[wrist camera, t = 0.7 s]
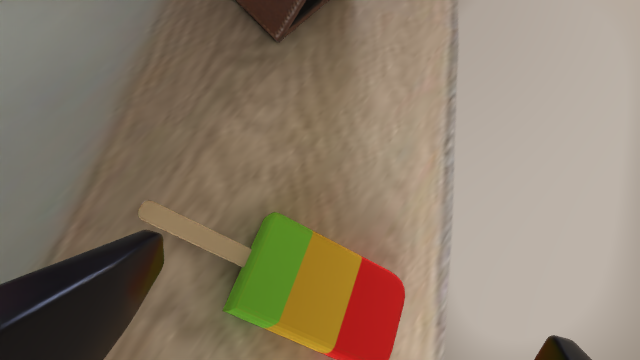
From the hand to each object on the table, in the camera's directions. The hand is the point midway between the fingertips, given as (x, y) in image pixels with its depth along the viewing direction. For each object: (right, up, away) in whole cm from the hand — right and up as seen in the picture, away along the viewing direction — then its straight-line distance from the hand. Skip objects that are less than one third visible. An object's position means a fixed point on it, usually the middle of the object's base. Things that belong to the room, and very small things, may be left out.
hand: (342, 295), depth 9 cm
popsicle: (-3, -2, +13) cm, 13 cm away
